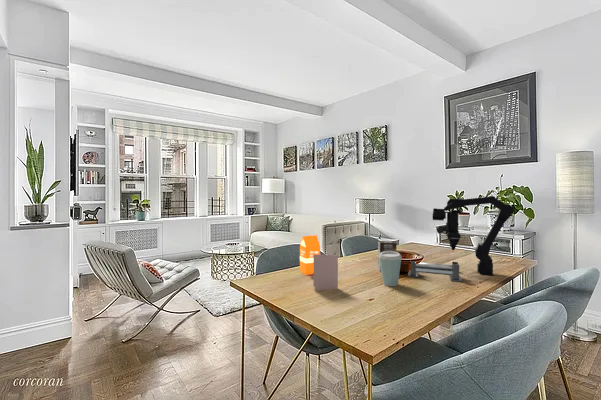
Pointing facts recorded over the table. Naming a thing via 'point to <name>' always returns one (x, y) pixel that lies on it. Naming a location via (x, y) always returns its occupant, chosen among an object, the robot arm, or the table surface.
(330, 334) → the table surface
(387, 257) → the disposable coffee cup
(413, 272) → the dark grey notched cradle
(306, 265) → the orange juice
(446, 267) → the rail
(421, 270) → the grey plate
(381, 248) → the coffee box
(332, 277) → the greeting card
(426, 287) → the table surface
